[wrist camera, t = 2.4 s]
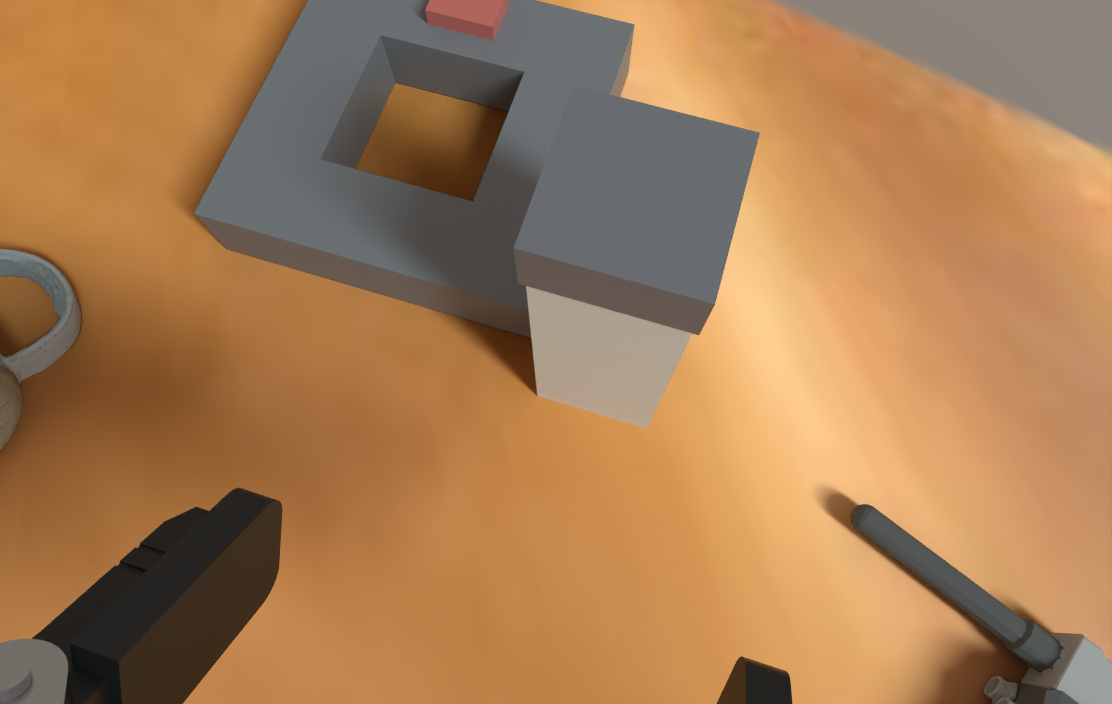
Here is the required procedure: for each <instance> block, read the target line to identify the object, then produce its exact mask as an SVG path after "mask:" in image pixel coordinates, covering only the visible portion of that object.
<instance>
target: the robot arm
mask: <svg viewBox="0 0 1112 704" xmlns="http://www.w3.org/2000/svg"><path fill="white" fill-rule="evenodd" d="M281 524H282V505H281V502H280V501H278V500H275V499H272V498H269V497H266V496H263V495H260V494H257V493H254V492H251V491H248V490H245V489H242V488H236V489H234V490H232V491H231V492H229V493H228V494H227V495H226V496H225V497H224V498H223V499H222V500H221V501H220V502H219V503H218V504H216V505H215V506H214V507H213V508H212V509H211V510H210V511H207V510H204V509H201V508H198V507H195V508H193V509H191V510H189V511H187V512H184V513H182V514H180V515H178V516H176V517H174V518H171V519H169V520H167V521H165V522H164V523H162V524H161V525H160V526H159V527H158V528H157V529H156V530H155V531H153V532H152V533H151V534H150V535H149V536H148V537H147V538H146V539H144V540H143V541H142V542H141V543H140V546H139V547H138V548H134V549H133V550H132V551H131V552H130V553H129V554H127V555H126V556H125V557H124V558H123V559H122V560H121V561H120V564H119V565H118V566H114V567H113V568H112V569H111V570H109V571H108V572H107V573H106V574H105V575H104V576H103V577H102V578H100V579H99V580H98V581H97V582H96V583H95V584H94V585H93V586H91V587H90V588H89V589H88V590H87V591H86V592H85V593H84V594H82V595H81V596H80V597H79V598H78V599H77V600H76V601H75V602H73V603H72V604H71V605H70V606H69V607H68V608H67V609H66V610H64V611H63V612H62V613H61V614H60V615H59V616H58V617H56V618H55V619H54V620H53V621H52V622H51V623H50V624H49V625H47V626H46V627H45V628H44V629H43V630H42V631H41V632H39V633H38V634H37V635H36V636H34V637H33V638H32V639H18V640H11V641H7V642H2V643H0V704H183V702H184V701H185V700H186V699H187V697H188V696H189V695H190V694H191V692H192V691H193V690H194V689H195V688H196V686H197V685H198V684H199V683H200V681H201V680H202V679H203V678H204V676H205V675H206V674H207V673H208V671H209V670H210V669H211V668H212V666H213V665H214V664H215V663H216V661H217V660H218V659H219V658H220V656H221V655H222V654H223V653H224V651H225V650H226V649H227V648H228V646H229V645H230V644H231V643H232V641H233V640H234V639H235V638H236V636H237V635H238V634H239V633H240V631H241V630H242V629H243V628H244V626H245V625H246V624H247V623H248V622H249V620H250V619H251V618H252V617H253V615H254V614H255V613H256V612H257V610H258V609H259V608H260V607H261V605H262V604H263V603H264V601H265V600H266V598H267V597H268V595H269V593H270V591H271V589H272V587H273V585H274V583H275V580H276V577H277V574H278V569H279V558H280V541H281ZM717 704H792V695H791V683H790V677H789V674H788V672H787V671H784V670H781V669H778V668H775V667H772V666H769V665H766V664H763V663H760V662H757V661H754V660H751V659H748V658H745V657H740V658H739V659H738V660H737V662H736V664H735V666H734V668H733V670H732V672H731V674H730V676H729V679H728V681H727V683H726V685H725V687H724V689H723V691H722V693H721V696H720V698H719V700H718V702H717Z"/></svg>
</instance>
